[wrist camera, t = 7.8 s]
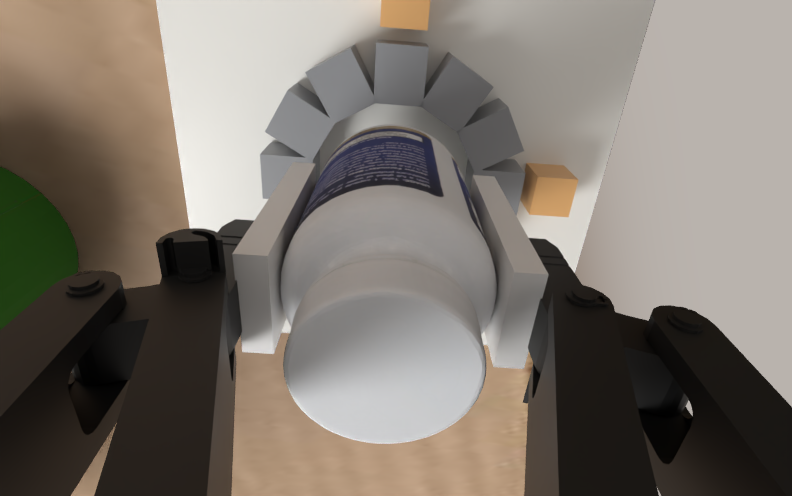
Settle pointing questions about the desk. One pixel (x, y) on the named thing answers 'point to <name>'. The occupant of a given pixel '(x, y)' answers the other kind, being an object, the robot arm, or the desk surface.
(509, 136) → the socket
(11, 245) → the candle
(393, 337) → the pill bottle
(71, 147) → the desk surface
